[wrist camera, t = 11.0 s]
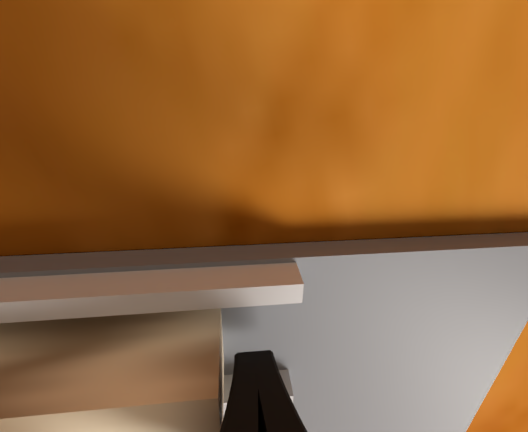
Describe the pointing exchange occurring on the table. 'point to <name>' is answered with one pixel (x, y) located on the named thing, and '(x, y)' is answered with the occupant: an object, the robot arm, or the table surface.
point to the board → (319, 316)
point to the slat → (113, 373)
